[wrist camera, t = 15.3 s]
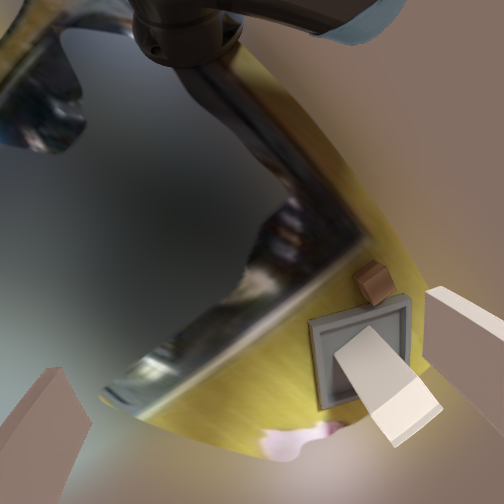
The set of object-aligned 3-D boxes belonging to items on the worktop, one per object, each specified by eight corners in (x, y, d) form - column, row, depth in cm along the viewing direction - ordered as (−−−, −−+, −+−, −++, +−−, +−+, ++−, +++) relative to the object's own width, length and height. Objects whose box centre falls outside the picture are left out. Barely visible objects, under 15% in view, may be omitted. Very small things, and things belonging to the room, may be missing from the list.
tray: (307, 320, 44) (312, 327, 42) (403, 293, 45) (411, 298, 42) (318, 400, 48) (322, 409, 45) (402, 373, 48) (408, 380, 46)
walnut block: (351, 275, 43) (362, 283, 39) (373, 259, 43) (386, 266, 39) (362, 296, 44) (374, 306, 40) (383, 281, 44) (396, 289, 40)
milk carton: (332, 353, 45) (382, 437, 27) (368, 324, 44) (435, 394, 26) (354, 378, 47) (404, 457, 28) (388, 350, 46) (450, 420, 28)
